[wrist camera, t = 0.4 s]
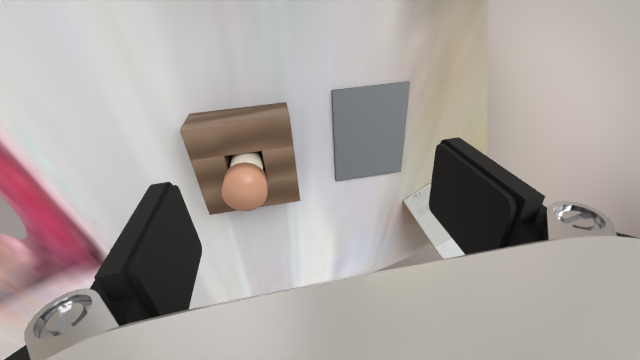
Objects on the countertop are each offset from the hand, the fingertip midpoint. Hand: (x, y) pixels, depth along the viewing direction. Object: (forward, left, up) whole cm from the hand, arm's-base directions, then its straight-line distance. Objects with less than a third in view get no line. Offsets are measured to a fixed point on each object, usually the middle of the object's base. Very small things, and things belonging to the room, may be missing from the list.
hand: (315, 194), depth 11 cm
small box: (+32, +25, -35) cm, 54 cm away
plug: (+15, -7, -34) cm, 38 cm away
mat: (+15, +13, -35) cm, 40 cm away
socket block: (+15, -7, -35) cm, 39 cm away
